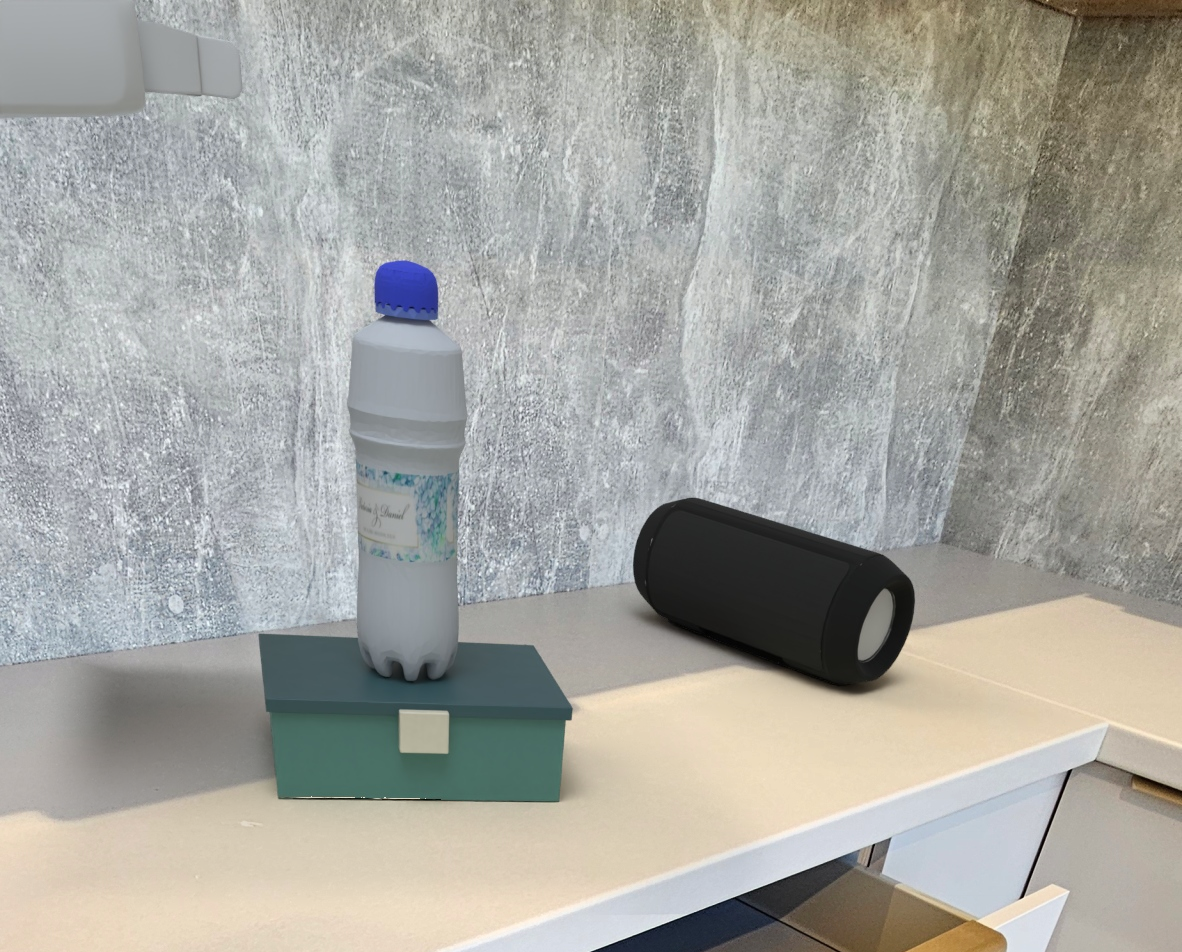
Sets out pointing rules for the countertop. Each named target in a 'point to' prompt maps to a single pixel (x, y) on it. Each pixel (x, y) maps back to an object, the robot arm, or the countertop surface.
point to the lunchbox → (413, 723)
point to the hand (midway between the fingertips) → (220, 72)
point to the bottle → (407, 475)
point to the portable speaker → (774, 590)
